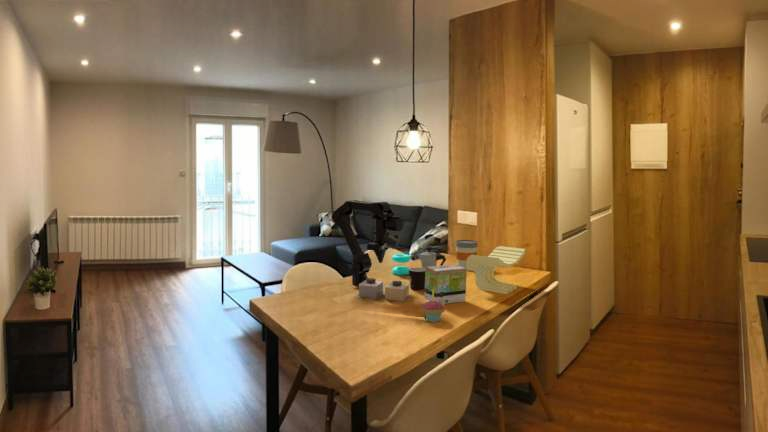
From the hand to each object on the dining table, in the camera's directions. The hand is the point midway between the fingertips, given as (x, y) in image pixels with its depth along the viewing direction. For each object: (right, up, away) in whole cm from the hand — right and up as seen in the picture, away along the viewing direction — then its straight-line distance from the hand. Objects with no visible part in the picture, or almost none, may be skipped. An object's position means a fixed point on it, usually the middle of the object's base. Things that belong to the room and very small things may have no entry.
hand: (380, 262), depth 223 cm
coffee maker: (+25, -12, +16) cm, 31 cm away
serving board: (+1, -14, -13) cm, 19 cm away
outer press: (+7, -14, -15) cm, 21 cm away
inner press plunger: (-4, -13, -11) cm, 18 cm away
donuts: (+11, -10, +36) cm, 39 cm away
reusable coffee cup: (+48, -8, +53) cm, 72 cm away
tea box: (+28, -15, -15) cm, 35 cm away
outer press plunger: (+7, -14, -15) cm, 22 cm away
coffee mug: (+17, -13, +2) cm, 22 cm away
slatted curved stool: (+54, -13, +6) cm, 56 cm away
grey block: (-4, -13, -11) cm, 17 cm away
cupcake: (+20, -18, -41) cm, 49 cm away
